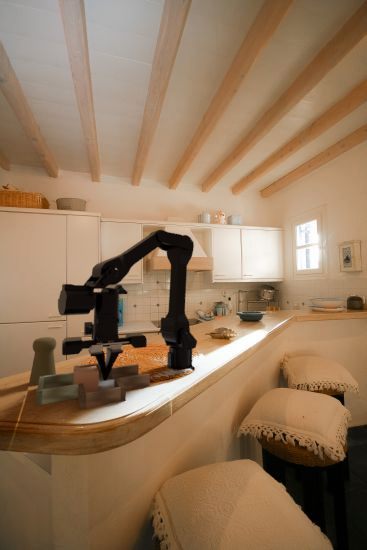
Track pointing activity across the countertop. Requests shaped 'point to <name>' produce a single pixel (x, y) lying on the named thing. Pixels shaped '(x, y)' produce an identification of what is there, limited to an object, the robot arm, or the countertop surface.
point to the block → (87, 377)
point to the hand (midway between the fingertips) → (104, 380)
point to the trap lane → (107, 393)
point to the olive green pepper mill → (43, 359)
